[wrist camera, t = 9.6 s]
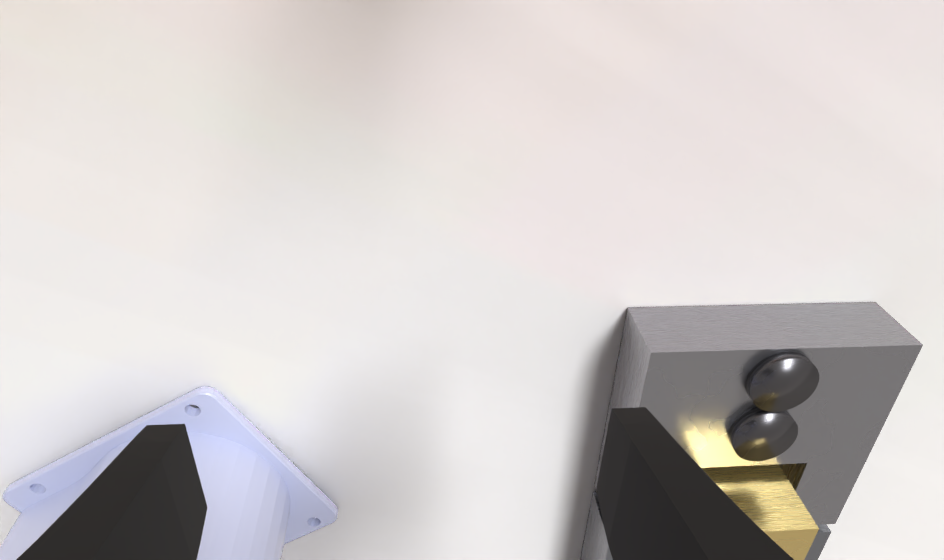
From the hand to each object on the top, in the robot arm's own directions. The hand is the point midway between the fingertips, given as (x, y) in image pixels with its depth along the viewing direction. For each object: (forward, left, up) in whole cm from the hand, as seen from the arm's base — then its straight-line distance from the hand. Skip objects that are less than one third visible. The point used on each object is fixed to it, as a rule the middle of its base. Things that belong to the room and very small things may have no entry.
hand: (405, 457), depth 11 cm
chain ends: (+4, -17, -10) cm, 20 cm away
